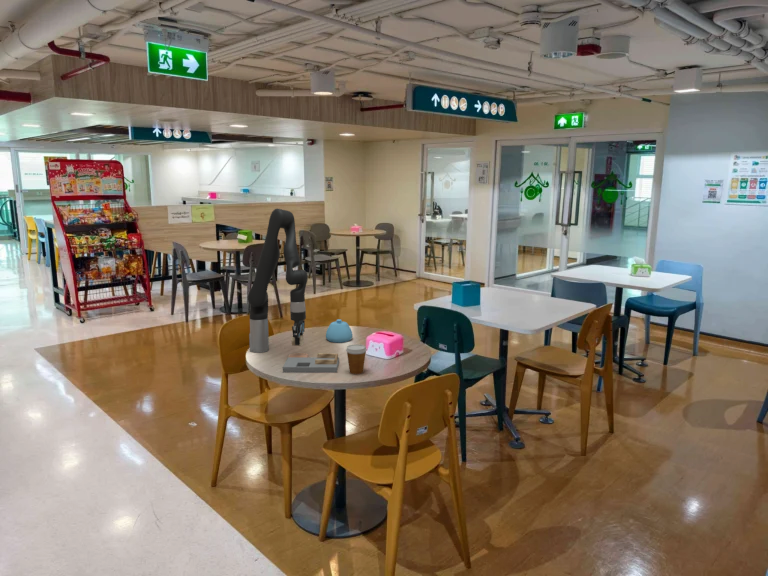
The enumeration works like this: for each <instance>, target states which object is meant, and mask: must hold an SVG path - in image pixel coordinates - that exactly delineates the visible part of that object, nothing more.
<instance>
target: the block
mask: <svg viewBox="0 0 768 576" xmlns="http://www.w3.org/2000/svg"><path fill="white" fill-rule="evenodd" d="M299 338H300V344H299V345H295V338H294V337H293V335H292V336H291V338H290V339H291V346H292V347H293V346H294V347H302V346H303V344H304V340H305V339H304V334H303V335H300V337H299Z"/></svg>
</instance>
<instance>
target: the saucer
mask: <svg viewBox="0 0 768 576" xmlns="http://www.w3.org/2000/svg"><path fill="white" fill-rule="evenodd" d="M287 356H288V357H309V354H308V353H306V352H293V353H290V354H288V355H287ZM288 357H287V358H288Z"/></svg>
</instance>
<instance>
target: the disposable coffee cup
mask: <svg viewBox="0 0 768 576" xmlns="http://www.w3.org/2000/svg"><path fill="white" fill-rule="evenodd" d="M367 350H368V349H367V346H366V345H363V344H350V345H348V346H347V347H346V349H345V351H346V355H347V362H348V370H349V373H350V374H352V375H360V374H363V373H364V367H365V360H366V352H367Z"/></svg>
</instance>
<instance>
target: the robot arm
mask: <svg viewBox="0 0 768 576" xmlns="http://www.w3.org/2000/svg"><path fill="white" fill-rule="evenodd" d="M281 229H283V231H284V233H285V242H284V246H283V256H284V260H285V268H286V269H285V281H286V283H287V284H288V285H290V286H295V285H296V286H297V287H296V288H293V289H291V290H290V291H289V296H290V297H289V299H290V305H289V309H290V311H289V312H290V313H289V314H290V320H291V321H293V325H292V326H291V329H292V331H291V332H292V336H293V337H294V338H295V345H299V344H300V338H299V337H300V335H303V336H304V333H305V328H306V327H305V324H306V323H305V322H306V319H307V316H306V315H307V311H306V310H307V309H306V301H305V299H306V296H305V293H306V286H307V283H308V273H307V271H306V270H305V269H297V270H293V268H296V267H298V266H300V265H301V259H300V258H301V257H300V255H299V250H298V246H297V235H296V219H295V215H294V214H293V212H291V211H290V210H285V209H281V208H275V209H273V210H272V211H271V214H270V217H269V219H268V226H267V230H266V235H265V237H264V238H265V239H264V242H263V247H262V249H261V252H260V256H259V259H258V263H257V267H256V272H255V277H254V279H253V282H252V285H251V288H250V290H249V292H248V294H247V300H248V303H249V306H250V307H249V308H250V309H249V334H248V337H249V339H248V340H249V352H251V353H252V352H253V353H265V352H267V351H269V350H270V348H269V347H270V344H269V343H270V342H269V338H270V337H269V316H268V315H269V294H268V287H269V283H270V281H271V279H272V277H273V275H274V273H275V271H276V268H277V265H278V263H279V259H280V254H281V251H280V250H281V249H280V245H279V242H278V241H279V240H278V239H279V238H278V237H279V234H280V233H279V232H280V230H281Z"/></svg>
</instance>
